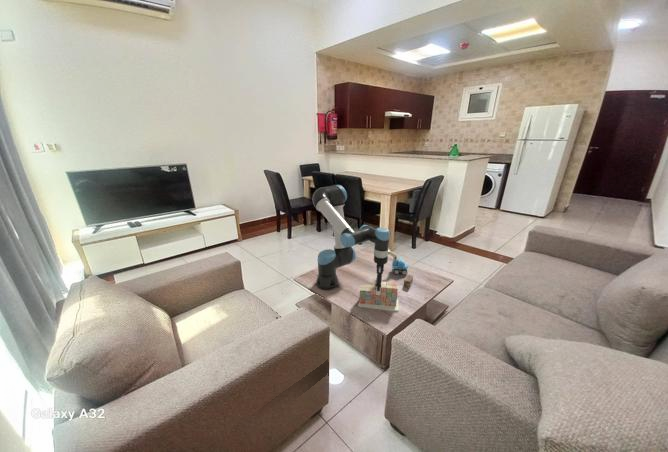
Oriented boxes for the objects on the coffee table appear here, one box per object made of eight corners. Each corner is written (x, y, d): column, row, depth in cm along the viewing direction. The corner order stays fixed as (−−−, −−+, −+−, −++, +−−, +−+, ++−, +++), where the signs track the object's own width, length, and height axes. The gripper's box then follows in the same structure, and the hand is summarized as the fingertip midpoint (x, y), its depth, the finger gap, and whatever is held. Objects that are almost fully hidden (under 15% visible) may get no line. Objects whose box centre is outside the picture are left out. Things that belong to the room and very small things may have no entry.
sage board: (358, 306, 150) (358, 305, 150) (360, 296, 160) (360, 295, 159) (398, 311, 146) (398, 310, 145) (398, 300, 155) (398, 299, 154)
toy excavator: (384, 267, 192) (385, 247, 186) (407, 269, 189) (408, 248, 183) (384, 273, 184) (385, 252, 178) (408, 275, 181) (410, 253, 175)
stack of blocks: (359, 303, 151) (359, 285, 147) (359, 297, 157) (360, 280, 153) (396, 306, 148) (397, 288, 144) (395, 299, 154) (396, 282, 150)
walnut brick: (403, 286, 169) (404, 280, 167) (406, 280, 175) (407, 274, 173) (409, 288, 167) (410, 281, 165) (412, 282, 173) (413, 275, 172)
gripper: (387, 267, 129) (384, 302, 137) (388, 246, 152) (386, 276, 159) (372, 266, 131) (370, 300, 138) (375, 244, 153) (374, 275, 161)
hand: (378, 287), depth 149 cm, fingers open, 13 cm apart
